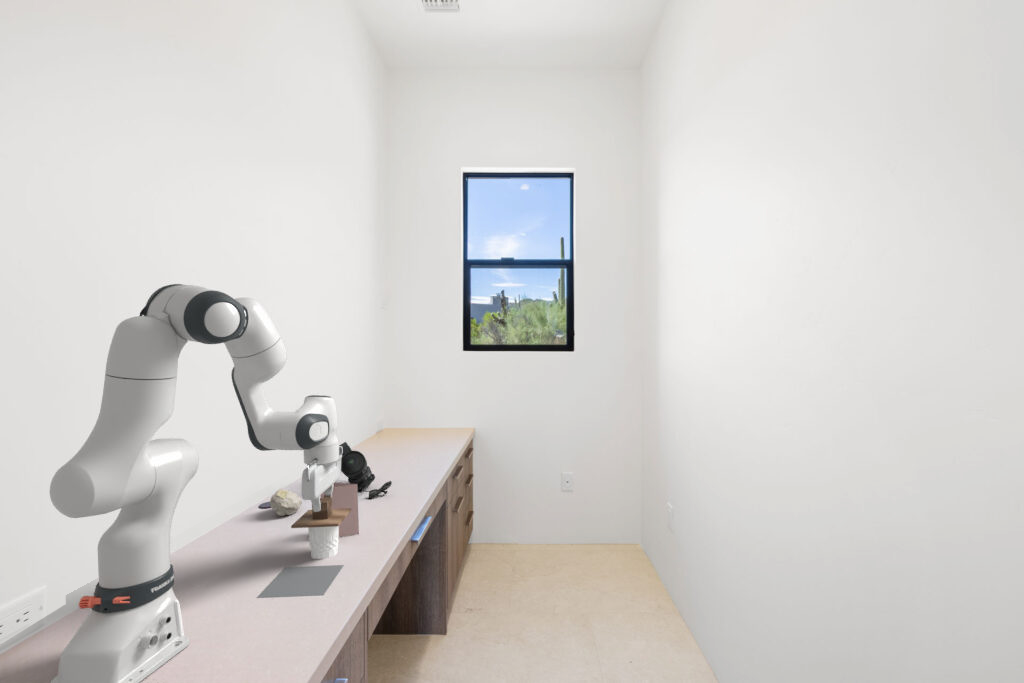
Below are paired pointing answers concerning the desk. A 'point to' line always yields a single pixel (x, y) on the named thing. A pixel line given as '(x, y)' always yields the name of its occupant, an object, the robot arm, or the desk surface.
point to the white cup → (323, 541)
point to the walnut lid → (322, 516)
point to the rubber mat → (301, 581)
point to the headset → (359, 471)
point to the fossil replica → (285, 502)
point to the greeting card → (343, 499)
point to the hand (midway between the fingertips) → (323, 505)
